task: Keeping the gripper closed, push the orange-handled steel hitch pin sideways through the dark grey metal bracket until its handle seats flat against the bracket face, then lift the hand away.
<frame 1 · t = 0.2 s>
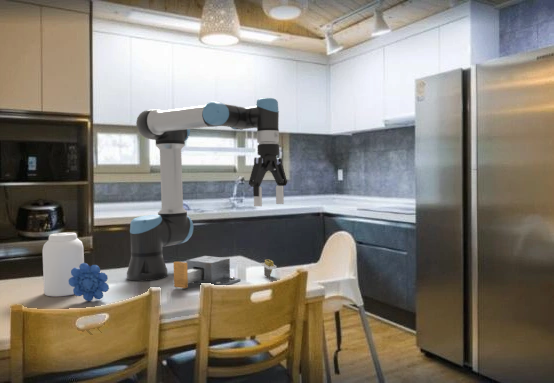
hand: (269, 205, 154), 28 cm above the table, fingers open, 13 cm apart
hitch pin: (195, 270, 156), point 5 cm above the table, slide at 0.0 cm
bracket: (208, 281, 162), on the table
blue rosette flower: (88, 302, 137), on the table
white jar: (64, 292, 150), on the table
potted plant: (269, 278, 167), on the table
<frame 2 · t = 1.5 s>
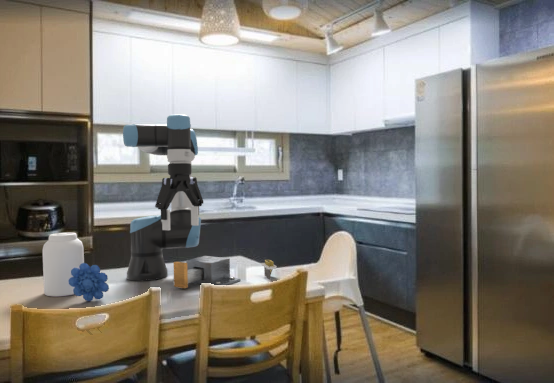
hand: (181, 227, 146), 21 cm above the table, fingers open, 13 cm apart
nothing on the table moved.
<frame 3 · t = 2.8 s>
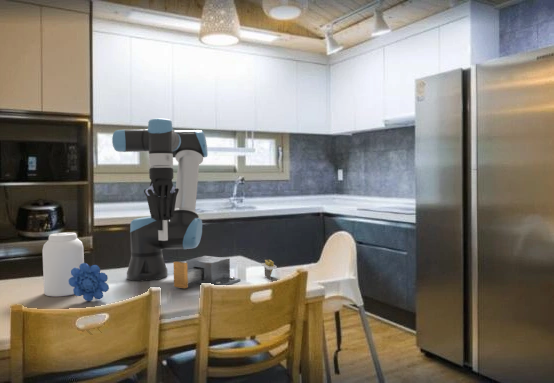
hand: (163, 240, 144), 18 cm above the table, fingers closed
nothing on the table moved.
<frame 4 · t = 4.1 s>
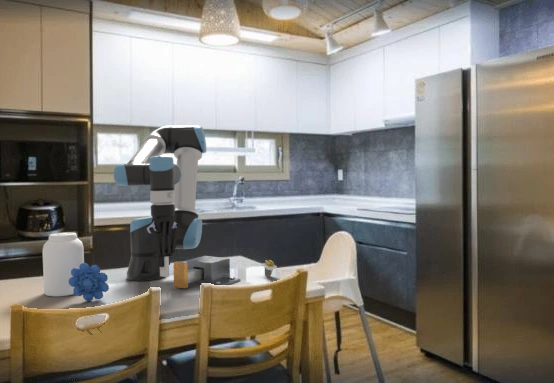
hand: (164, 276, 145), 6 cm above the table, fingers closed
nothing on the table moved.
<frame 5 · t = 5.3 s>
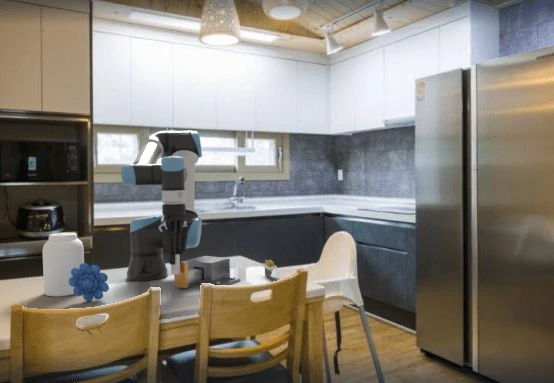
hand: (175, 273, 149), 6 cm above the table, fingers closed
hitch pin: (195, 270, 156), point 5 cm above the table, slide at 0.3 cm, touching gripper
everything else where it was.
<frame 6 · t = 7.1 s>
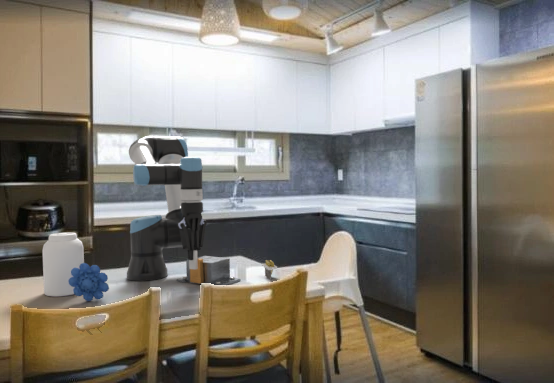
hand: (193, 268, 156), 6 cm above the table, fingers closed
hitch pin: (210, 267, 163), point 5 cm above the table, slide at 7.7 cm, touching gripper
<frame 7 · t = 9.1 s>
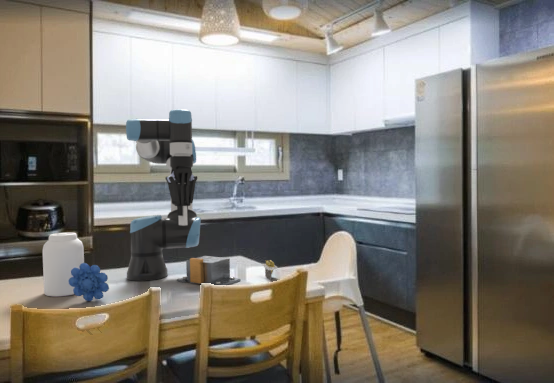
hand: (183, 225, 152), 22 cm above the table, fingers closed
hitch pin: (210, 266, 163), point 5 cm above the table, slide at 7.8 cm
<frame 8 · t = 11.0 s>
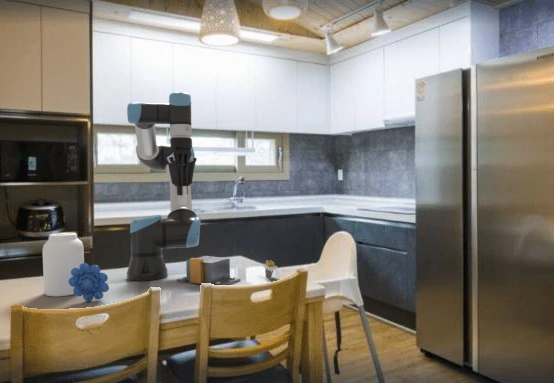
hand: (182, 204, 157), 28 cm above the table, fingers closed
at the end: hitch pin slide at 7.8 cm; the gripper is holding nothing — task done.
